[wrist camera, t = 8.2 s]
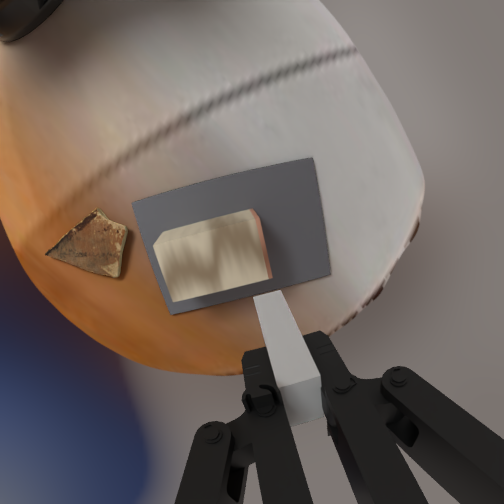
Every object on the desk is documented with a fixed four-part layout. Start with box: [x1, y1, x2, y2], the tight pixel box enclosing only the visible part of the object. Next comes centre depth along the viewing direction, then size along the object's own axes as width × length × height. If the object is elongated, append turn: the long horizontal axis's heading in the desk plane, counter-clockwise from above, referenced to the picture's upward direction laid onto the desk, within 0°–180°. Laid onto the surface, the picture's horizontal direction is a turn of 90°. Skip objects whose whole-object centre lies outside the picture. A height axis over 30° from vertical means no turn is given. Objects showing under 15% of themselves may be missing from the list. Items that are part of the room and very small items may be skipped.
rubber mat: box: [132, 158, 331, 315], centre depth 31 cm, size 14×20×1 cm
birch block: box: [153, 208, 273, 302], centre depth 28 cm, size 6×5×10 cm
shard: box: [45, 208, 128, 277], centre depth 28 cm, size 11×8×2 cm
